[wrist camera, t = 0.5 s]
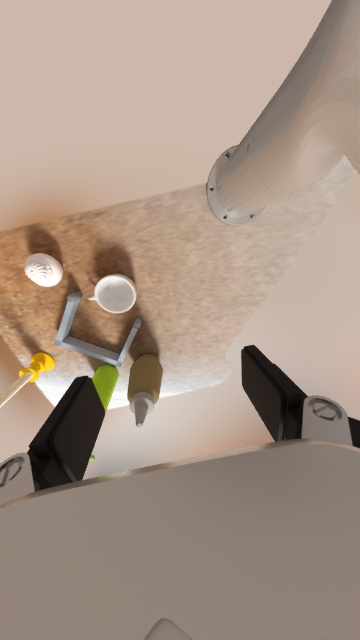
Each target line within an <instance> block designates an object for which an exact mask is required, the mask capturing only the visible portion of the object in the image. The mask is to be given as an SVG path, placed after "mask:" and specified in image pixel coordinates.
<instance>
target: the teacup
mask: <svg viewBox="0 0 360 640" xmlns="http://www.w3.org/2000/svg"><path fill="white" fill-rule="evenodd" d="M136 296H137V291H136V287H135V284H134V283H133V281H132V280H131V279H129V278H128V277H126V276H124V275H122V274H114V275H108V276H105V277H103V278H102V279H101V280H100V281H99V282H98V283H97V285H96V287H95V295H92V296H90V297H88V298H89V300H96V301H97V303H98V304H99V305H100V306H101V307H102V308H103V309H105V310H106V311H108V312H112V313H122V312H125V311H127V310H129V309H130V308H131V307H132V306H133V305H134V303H135V300H136Z"/></svg>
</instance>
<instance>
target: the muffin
mask: <svg viewBox="0 0 360 640" xmlns="http://www.w3.org/2000/svg"><path fill="white" fill-rule="evenodd" d="M24 268H25V269H24V271H25V272H26V273H25V274H26V275H28V278H31V280H33V281H34V282H35V283H37V284H39V285H41V286H46V287H50V286H54V285H56V284H57V283H59V281H60V280H61V279H62V276H63V269H62V266H61V264H60V263H59V262H58V261H57V260H55V259H54V258H53V257H51V256H49V255H47V254H43V253H36V254H33V255H31V256H30V257H28V258H27V260H26V262H25V267H24Z"/></svg>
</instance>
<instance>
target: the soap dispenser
mask: <svg viewBox="0 0 360 640" xmlns="http://www.w3.org/2000/svg"><path fill="white" fill-rule="evenodd" d="M117 379H118V371H117V370H116V369H115V368H114V367H112V366H109V365H104V366H101V367H99V368H98V369H97V371H96V372H95V374H94V376H93V378H92V381H93V383H94V385H95V388H96V390H97V392H98V395H99V397H100V399H101V402H102V404H103V406H104V409H105V412H106V410H107V407H108V404H109V401H110V398H111V396H112V393H113V390H114V387H115V384H116V382H117ZM94 458H95V457H94V455H91V456H90V459H89V462H91V461H92V460H94ZM89 462H88V463H89Z"/></svg>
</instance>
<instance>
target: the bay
mask: <svg viewBox="0 0 360 640" xmlns="http://www.w3.org/2000/svg"><path fill="white" fill-rule="evenodd" d="M81 297H82V293H81V292H80V291H76V292H74V293H72V294H70V295H68V296H67V300H68V302H67V305H66V308H65V312H64V315H63V318H62V321H61V325H60V328H59V331H58V335H57V338H56V341H55V344H56V345H58V346H61V347H64V348H67V349H70V350H73V351H76V352H79V353H82V354H85V355H88V356H91V357H94V358H97V359H100V360H103V361H105V362H108V363H111V364H114V365H117V366H120V367H121V365H122V362H123V360H124V358H125V356H126V354H127V352H128V350H129V347H130V345H131V343H132V341H133V339H134V337H135V334H136V332H137V330H138V329H139V328H140V326H141V323H142V318H141V317H136V319H135V321H134V324H133V328H132V330H131V332H130V334H129V336H128V339H127V341H126V343H125V345H124V347H123V350H122V352H121V354H118V353H115V352H112V351H109V350H106V349H104V348H101V347H98V346H95V345H93V344H90V343H87V342H84V341H81V340H79V339H76V338H73V337H70V336H68V335H69V332H70V329H71V326H72V323H73V320H74V317H75V314H76V311H77V308H78V304H79V301H80V298H81Z"/></svg>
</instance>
